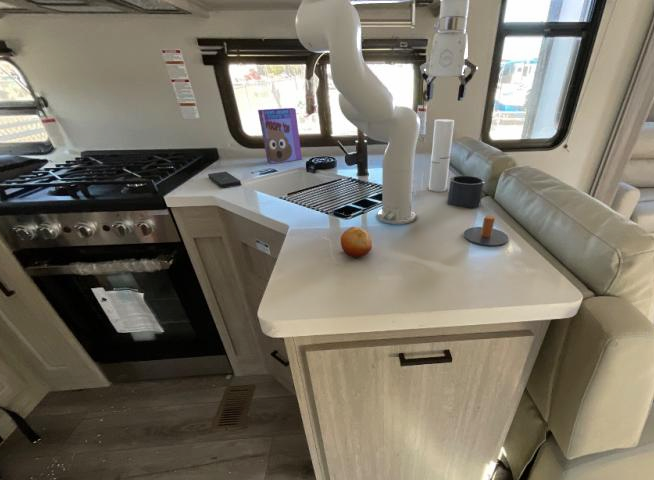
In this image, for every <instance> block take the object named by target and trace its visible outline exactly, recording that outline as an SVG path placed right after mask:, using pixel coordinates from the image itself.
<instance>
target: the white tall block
mask: <svg viewBox="0 0 654 480" xmlns="http://www.w3.org/2000/svg"><path fill="white" fill-rule="evenodd" d="M454 126H455V120H454V119H449V118H448V119H446V118H437V119H434V125H433V136H432V148H431V158H430V160H431V161H430V169H429V179H428V181H429V182H428V190H429V191H430V192H437V193H439V192H445V191H446V190H447V184H448V176H449V168H450V160H451V153H452V152H451V150H452V144H453V135H454V128H455V127H454Z"/></svg>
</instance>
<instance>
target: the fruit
mask: <svg viewBox="0 0 654 480" xmlns="http://www.w3.org/2000/svg"><path fill="white" fill-rule="evenodd" d="M340 246H341V249H342V252H341V254H345V255H346V256H348V257H351V258H353V259H359V258H362V257H363V256H365V255H367V254H368V253H369V252H370V251H371V250H372V247H373V241H372V238H371V234H370V233H369V232H367V231H366V230H365V229H364V228H361V227H356V226H352V227H348V228H347V229H346V230H345V231H344V232H343V233H342V234H341V235H340Z"/></svg>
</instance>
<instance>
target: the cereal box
mask: <svg viewBox="0 0 654 480" xmlns="http://www.w3.org/2000/svg"><path fill="white" fill-rule="evenodd" d="M257 113H258V118H259V124H260V129H261V133H262V140H263V145H264V151H265V155H266V156H265V157H266V161H267V164H270V165H276V164H281V163H288V162H295V161H302V160H303V157H302V149H301V141H300V133H299V126H298V125H299V124H298V118H297V109H296V108H294V107H285V108H283V107H282V108H269V109H267V108H265V109H257Z"/></svg>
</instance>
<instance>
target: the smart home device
mask: <svg viewBox="0 0 654 480" xmlns="http://www.w3.org/2000/svg"><path fill="white" fill-rule="evenodd" d="M207 176H208V179H209V180H210V181H212V182H213V183H214V184H216V185H217V186H218V187H219V188H221V189H225V188H226V189H227V188H231V187H232V188H233V187H239V186H241V185H242V182H241V180H240V179H239V178H237V177H235V176H234V175H232V173H229V172H228V171H219V172H211V173H208V174H207Z"/></svg>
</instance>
